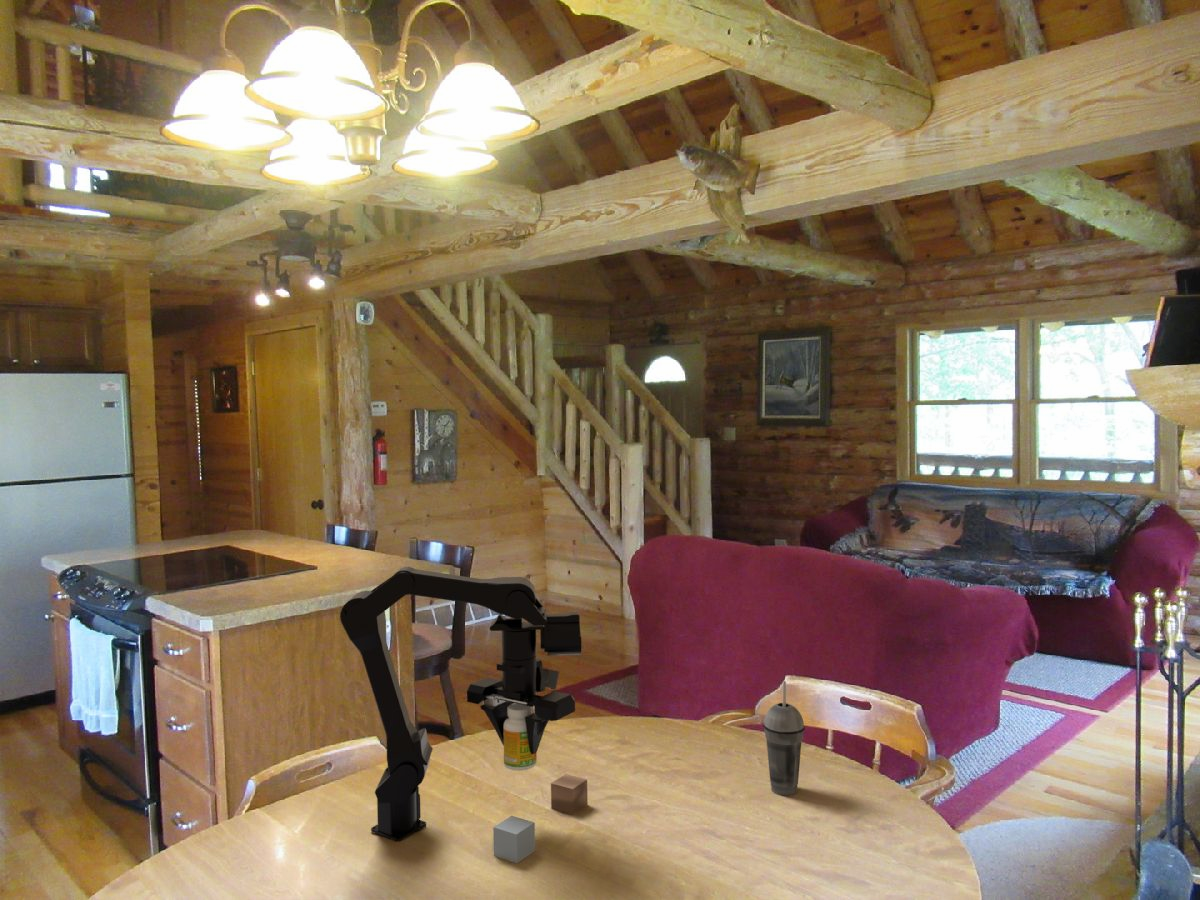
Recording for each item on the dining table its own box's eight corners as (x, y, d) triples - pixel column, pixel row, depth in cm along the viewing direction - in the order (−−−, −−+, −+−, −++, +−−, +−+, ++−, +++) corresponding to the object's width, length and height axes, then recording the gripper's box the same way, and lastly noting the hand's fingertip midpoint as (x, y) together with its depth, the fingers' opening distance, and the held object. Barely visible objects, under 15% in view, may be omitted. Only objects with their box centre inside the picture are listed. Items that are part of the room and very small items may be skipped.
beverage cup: (802, 782, 156) (801, 673, 156) (807, 799, 149) (807, 686, 148) (761, 781, 157) (761, 673, 156) (765, 798, 150) (764, 685, 149)
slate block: (516, 863, 129) (516, 834, 129) (493, 856, 131) (493, 827, 131) (535, 851, 132) (534, 822, 132) (512, 843, 135) (511, 815, 135)
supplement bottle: (521, 774, 137) (520, 714, 137) (497, 766, 140) (496, 707, 140) (543, 763, 141) (542, 705, 141) (519, 756, 145) (518, 699, 144)
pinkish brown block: (572, 815, 144) (572, 788, 144) (551, 809, 147) (550, 783, 147) (587, 805, 148) (587, 779, 148) (566, 799, 151) (565, 773, 150)
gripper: (593, 652, 142) (594, 745, 142) (506, 637, 152) (507, 724, 153) (553, 668, 133) (554, 768, 133) (463, 652, 143) (465, 744, 143)
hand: (520, 749), depth 141 cm, fingers closed on supplement bottle, 5 cm apart
